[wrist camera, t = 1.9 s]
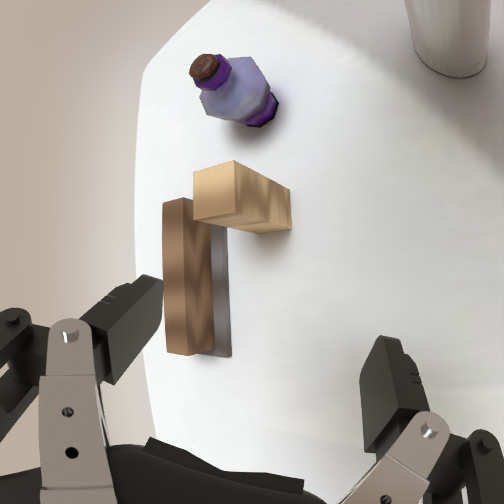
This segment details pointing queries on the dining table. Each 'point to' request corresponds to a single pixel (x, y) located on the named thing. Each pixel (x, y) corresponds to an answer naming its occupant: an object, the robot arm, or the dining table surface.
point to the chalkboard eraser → (194, 283)
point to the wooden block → (240, 199)
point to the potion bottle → (234, 89)
